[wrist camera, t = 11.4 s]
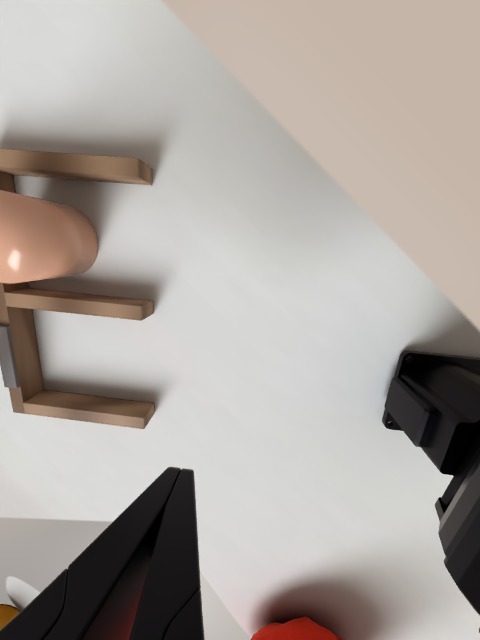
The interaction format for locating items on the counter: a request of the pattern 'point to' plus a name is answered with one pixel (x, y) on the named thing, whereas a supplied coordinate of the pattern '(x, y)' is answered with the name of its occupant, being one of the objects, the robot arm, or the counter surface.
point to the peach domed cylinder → (43, 239)
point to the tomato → (295, 631)
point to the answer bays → (63, 301)
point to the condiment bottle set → (7, 614)
